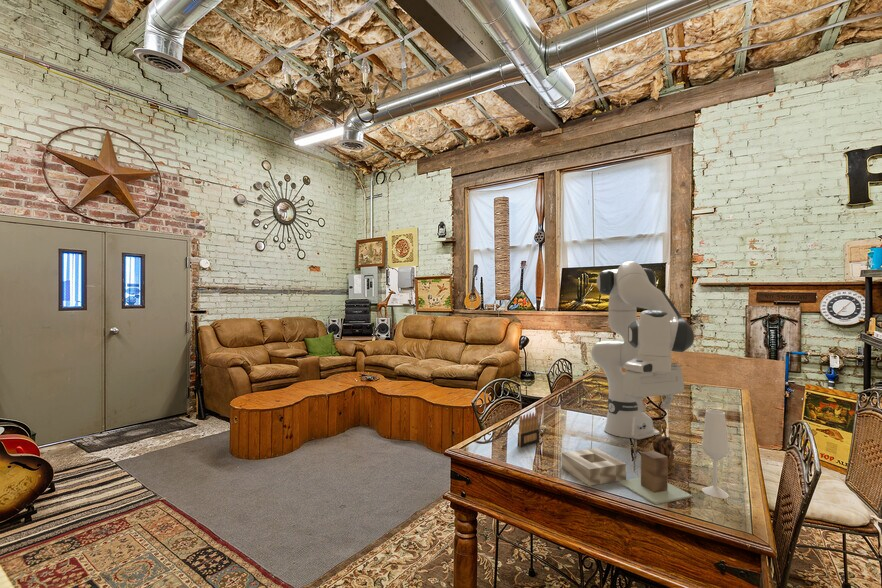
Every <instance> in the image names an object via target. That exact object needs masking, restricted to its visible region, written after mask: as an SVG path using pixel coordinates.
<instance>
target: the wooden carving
mask: <svg viewBox="0 0 882 588" xmlns="http://www.w3.org/2000/svg"><path fill="white" fill-rule="evenodd" d="M652 449H653V451H656V452H658V453H660V454H663V455H665V456H667V457H668V468H669V467H670V466H671V465H672V464H673V462H674V458H675V454H674V451H675V449H676V446H673V442H672V440H671V438H670V436H665V435H663V436H662V435H658V436H657V435H656V437H655V438H654V440H653V441H652Z"/></svg>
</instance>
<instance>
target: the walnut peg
mask: <svg viewBox="0 0 882 588" xmlns="http://www.w3.org/2000/svg"><path fill="white" fill-rule="evenodd" d="M668 468H669V467H668V457H667V456H665V455H663V454H660V453H658V452H656V451H654V450H648V451H643V452H642V451H641V452H640V477H641V486H643V487H645V488H646V489H648V490H650V491H652V492H654V493H657V492H662V491H667V483H668Z"/></svg>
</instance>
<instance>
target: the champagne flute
mask: <svg viewBox="0 0 882 588" xmlns="http://www.w3.org/2000/svg"><path fill="white" fill-rule="evenodd" d="M704 416H705V417H704V426H703V433H702V434H703V435H702V440H701V441H702V443H701V448H702V450H703V452H704V453H705V454H706V456H708V457H709V458H710V459H711V460H712V485H710V486H705V487H703V488H701V491H702V492H703V493H704V494H706V496H707V495H708V496H710V497H713V498H717V499H727V498H729V497H730V495H729V493H727V492H726V491H725V490H723V489H722V488H720V487H719V486H718V481H719V480H718V478H719V477H718V474H719V473H718V470H719V468H718V461H721V460H722V459H724V458H725V457H727V455H728V454H729V453H730V449H729V448H730V447H729V438H728V428H727V420H726V412H725V411H722V410H718V409H706V410H705V415H704Z"/></svg>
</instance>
